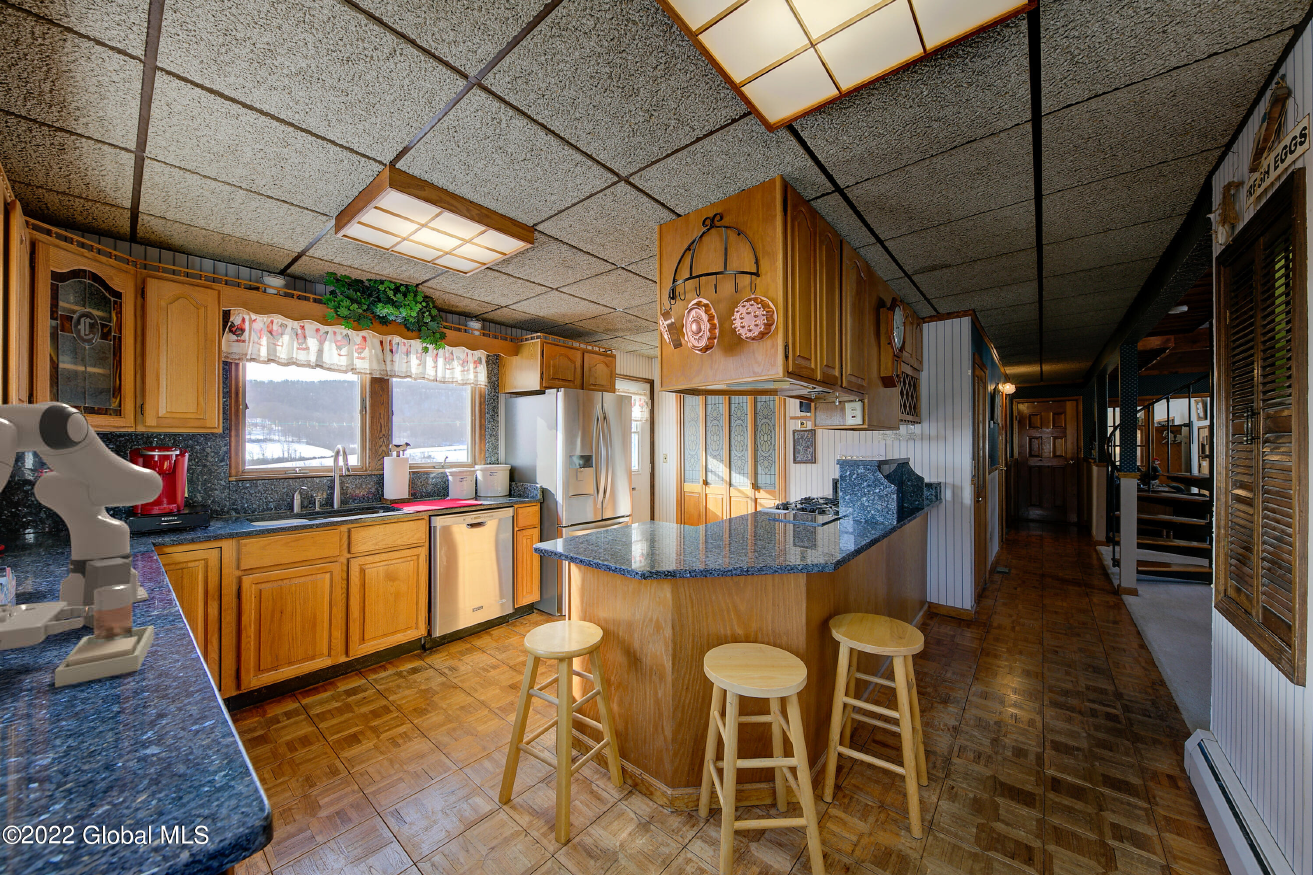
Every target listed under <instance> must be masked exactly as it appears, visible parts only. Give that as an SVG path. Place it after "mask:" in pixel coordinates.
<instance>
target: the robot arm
mask: <svg viewBox="0 0 1313 875" xmlns="http://www.w3.org/2000/svg"><path fill="white" fill-rule="evenodd" d="M22 452H36V453H37V454H38V456H40V458H41V459H42V460H43V461H44V462H45V464H47V466H48V468H49V469H51V470H52V471H48V472H45V473H44V474H43V475H41V476H40V477H39V479H37V481H36V483H35V485H34V488H33V489H34V490H33V491H34V495H35V498H36V499H37V501H38V502H39V503H41V504H42V505H44V506H45V507H47V508H50V509H51V510H53V511H54V512H55V513H57V514H58V515H59V516H60V517H61V519H63V521H64V522H65V524H66V526H67V528H68V531H69V535H70V545H71V548H70V549H71V558H70V559H69V561H68V567H67V568H68V572H69V575H68V576H67V577H65V578H63V579H62V580H61V581H60V585H59V586H60V589H59V600H58V601H48V602H47V601H46V602H37V603H25V604H17V605H13V606H12V603H3V604H0V651H3V650H11V649H18V648H24V647H30V646H34V645H37V644H40V643H42V641H44V640H45V639H46V638H47V637H48V636H49V635H55V634H59V633H62V632H65V631H70V630H73V629H81V628H82V627H84V626H85V624H84V617H83V616H90V615H92V614H94V606H93V605H92V606H85V607H82V606H83V595H84V584H85V572H86V562H87V561H93V560H103V559H112V558H121V559H127V561H129V562H131V565H132V564H133V556H132V552H131V551H130V550H131V549H130V546H131V545H130V541H131V540H130V536H131V534H130V532H131V531H130V528H129V525H127V523H126V522H124V521H122V520H119V519H117V518H114V517H111V516H110V515H109V513H107V511H106V509H105V508H106V507H107V508H108V507H129V506H130V507H131V506H135V505H137V506H138V505H142V504H146V503H151V502H154V500H156V499H157V498H158V497H159V496H160V494H161V492H162V490H163V479H162V477H161V476H160V474H158V473H157V472H156V471H155V470H152V469H149V468H146V467H145V468H144V467H141V466H138V465H136V464H133V463H132V462H130V461H127V460H125V459H123V458H122V457H121V456H119V455H117V454H116V453H114V452H112V451H111V450H110V449H109V448H108V447H107V446H106V445H105V443H104V442H103V441H102V440H101V439H100V437H99V436H98V435H97V433H96V432H95V430H94V429H93V427H92V426H91V424H89V422H88V419H87V417H86V416H85V414H83V413H82V412H81V411H80V410H78V409H77V408H74V407H71V406H70V405H68V404H66V403H63V402H59V401H44V402H43V401H41V402H39V403H35V404H33V403H31V404H30V403H14V404H0V493H1V492H2V491H3V489H4V488H5V486H6V485H7V483H8V482H9V479H10V476H11V475H12V471H13V468H14V465H15V460H16V456H17V453H22ZM130 584H131V585H132V604H133V603H137V602H141V601H145V600H149V595H148V593H147V591H146V590H145V589H144V587H142V584H141V582H139V572H138V571H137V570H135V569H134V568H133V566H131V574H130ZM65 619H67V620H65ZM83 625H84V626H83Z"/></svg>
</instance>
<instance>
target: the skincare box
mask: <svg viewBox="0 0 1313 875" xmlns="http://www.w3.org/2000/svg"><path fill="white" fill-rule="evenodd" d="M131 567H132V564H131V562H129V561H127V559H121V558H112V559H103V560H93V561H87V562H86V572H85V584H84V595H83V606H82V607H85V606H92V605H93V606H94V590H95V589H98V588H102V587H106V586H112V585H120V584H130V574H131ZM83 617H84V626H87V627H89V628H91V629H94V614H92V615H90V616H83Z"/></svg>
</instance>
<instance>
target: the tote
mask: <svg viewBox="0 0 1313 875" xmlns="http://www.w3.org/2000/svg"><path fill="white" fill-rule="evenodd" d="M154 630H155V626H154V624H153V625H148V626H141V627H137V628H136V627H134V628H132V637H137V636H138V639H137V649H136V651H135V653H134V655H129V656H124V657H118V658H113V659H108V660H103V661H97V662H92V663H87V664H82V665H76V666H71V667H69V663H68V660H69V658H70V657H71V656H72V655H73V654H74V652H75V651H76V650H77V649H78V648H79V646H85V645H91V644H94V634H93V635H88V636H87V635H86V636H83V637H82V638H81V640H80V641H79V642H78V643H77V645H76V646H74V648H72V651H71V652H69V654H68V655H67V656H66V658H64V660H62V662H61V663H60V664H59V666H58V667H57V668H56V669H55V670H54V687H55V688H59V687H64V686H68V685H73V684H78V683H81V682H88V681H92V680H98V679H103V678H107V677H113V676H119V675H122V674H127V673H132V672H136V671H139V670H140V668H141V666H142V664H143V662H144V660H145V657H146V656H147V653H148V651H149V649H150V647H151V645H152V644H153V640H154V638H155V633H154V632H155V631H154Z"/></svg>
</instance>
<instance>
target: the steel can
mask: <svg viewBox="0 0 1313 875" xmlns="http://www.w3.org/2000/svg"><path fill="white" fill-rule="evenodd" d="M132 629H133V603H132V585H131V584H120V585H112V586H106V587H102V588H98V589H95V590H94V628H93V635H94V644H97V643H102V642H108V641H114V640H119V639H125V638H131V637H132Z"/></svg>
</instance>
